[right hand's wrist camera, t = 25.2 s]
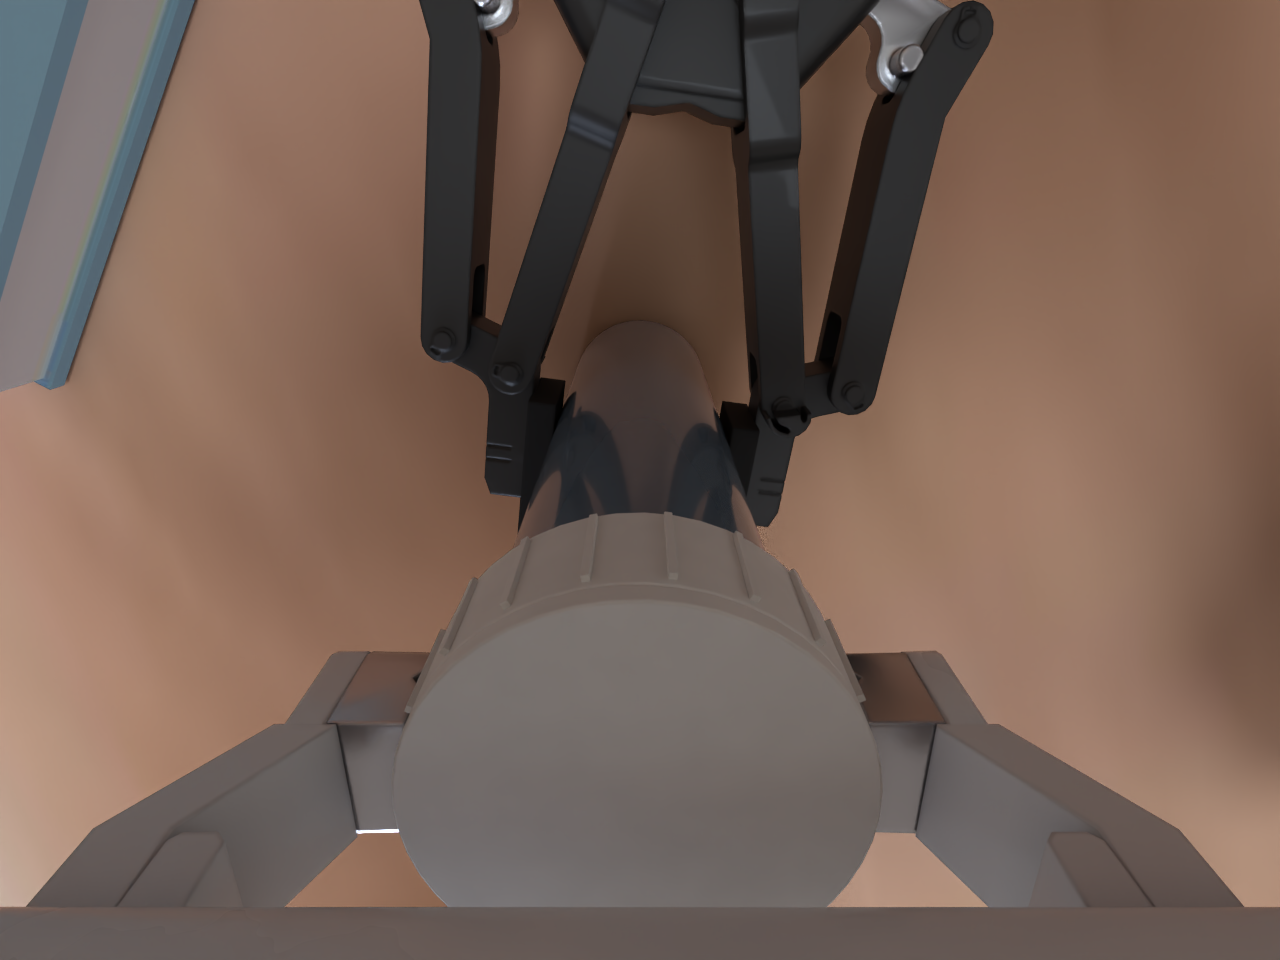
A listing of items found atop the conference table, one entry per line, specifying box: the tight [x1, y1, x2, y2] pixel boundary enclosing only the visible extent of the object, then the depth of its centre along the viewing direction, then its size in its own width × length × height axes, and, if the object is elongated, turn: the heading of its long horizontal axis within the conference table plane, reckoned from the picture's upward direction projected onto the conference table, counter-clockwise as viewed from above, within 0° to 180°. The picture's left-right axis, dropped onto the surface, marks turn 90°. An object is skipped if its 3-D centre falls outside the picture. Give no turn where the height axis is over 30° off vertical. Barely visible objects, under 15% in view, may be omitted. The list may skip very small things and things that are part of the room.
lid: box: [392, 512, 883, 907], centre depth 10 cm, size 6×6×2 cm
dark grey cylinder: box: [513, 320, 765, 551], centre depth 19 cm, size 5×5×20 cm
